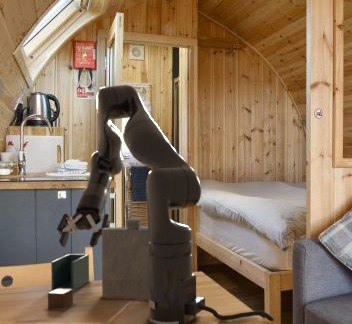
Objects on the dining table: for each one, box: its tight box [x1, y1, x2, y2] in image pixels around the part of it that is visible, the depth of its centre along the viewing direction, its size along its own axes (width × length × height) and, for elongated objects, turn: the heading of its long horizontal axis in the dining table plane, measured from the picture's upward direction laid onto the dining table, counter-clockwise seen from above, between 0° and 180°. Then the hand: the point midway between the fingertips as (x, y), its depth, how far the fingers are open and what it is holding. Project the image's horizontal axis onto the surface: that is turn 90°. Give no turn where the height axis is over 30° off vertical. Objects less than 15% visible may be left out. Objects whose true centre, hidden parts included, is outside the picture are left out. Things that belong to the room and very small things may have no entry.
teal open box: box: [50, 253, 90, 292], centre depth 127 cm, size 10×6×8 cm, turn 177°
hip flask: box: [101, 217, 150, 302], centre depth 116 cm, size 16×4×20 cm, turn 81°
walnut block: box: [47, 288, 74, 310], centre depth 109 cm, size 4×4×4 cm
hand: (77, 245), depth 131 cm, fingers open, 8 cm apart
